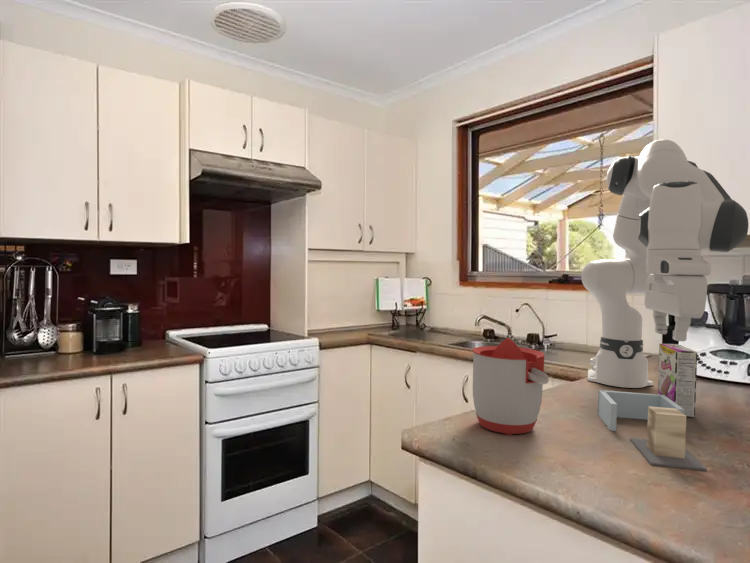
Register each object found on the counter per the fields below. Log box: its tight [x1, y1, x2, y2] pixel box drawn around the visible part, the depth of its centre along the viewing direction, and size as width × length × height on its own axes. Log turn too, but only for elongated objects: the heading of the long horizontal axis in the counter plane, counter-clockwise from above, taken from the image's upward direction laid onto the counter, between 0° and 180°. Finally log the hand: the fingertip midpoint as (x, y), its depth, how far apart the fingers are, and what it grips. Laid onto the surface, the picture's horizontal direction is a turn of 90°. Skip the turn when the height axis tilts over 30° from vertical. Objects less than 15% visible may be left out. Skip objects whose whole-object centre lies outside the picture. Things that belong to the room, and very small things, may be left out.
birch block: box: [646, 406, 687, 458], centre depth 92 cm, size 5×5×8 cm
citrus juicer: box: [472, 337, 549, 436], centre depth 105 cm, size 16×17×20 cm
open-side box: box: [597, 389, 684, 432], centre depth 109 cm, size 12×14×6 cm
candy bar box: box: [657, 343, 698, 418], centre depth 120 cm, size 11×5×16 cm, turn 168°
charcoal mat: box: [629, 437, 707, 472], centre depth 92 cm, size 13×9×1 cm
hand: (669, 337), depth 91 cm, fingers open, 8 cm apart
